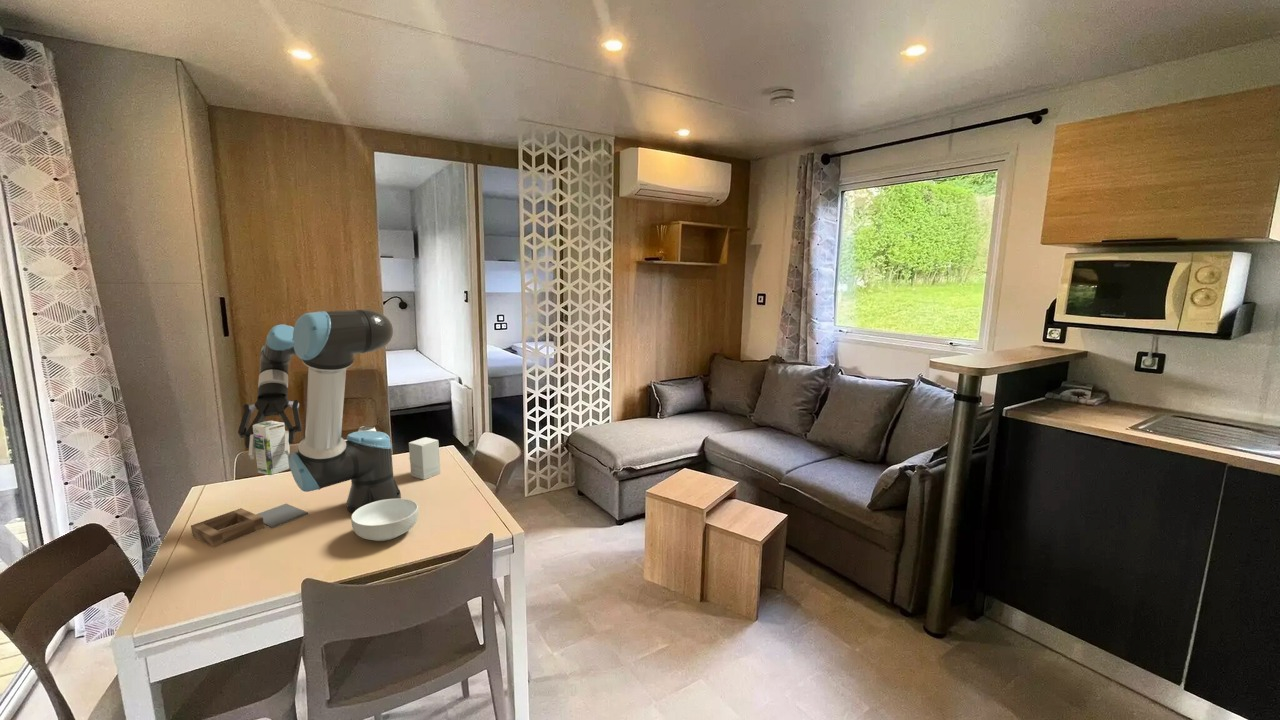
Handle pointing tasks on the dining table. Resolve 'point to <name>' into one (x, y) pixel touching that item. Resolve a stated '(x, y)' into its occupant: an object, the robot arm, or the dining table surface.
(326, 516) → the dining table surface
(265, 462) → the syrup box
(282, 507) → the mat
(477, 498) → the dining table surface
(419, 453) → the supplement box
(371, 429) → the can
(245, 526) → the pocket
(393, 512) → the cereal bowl
